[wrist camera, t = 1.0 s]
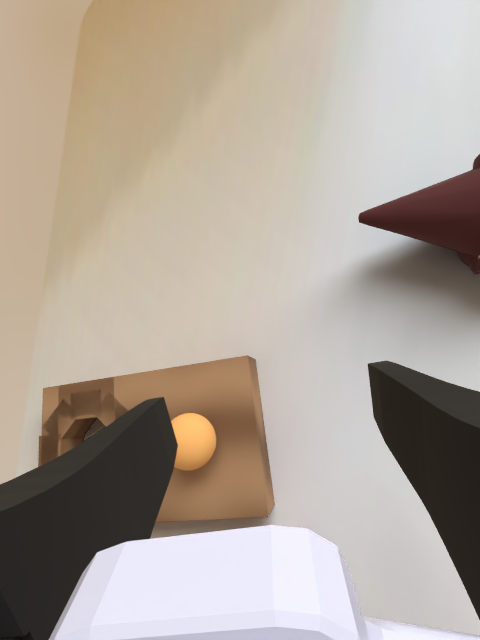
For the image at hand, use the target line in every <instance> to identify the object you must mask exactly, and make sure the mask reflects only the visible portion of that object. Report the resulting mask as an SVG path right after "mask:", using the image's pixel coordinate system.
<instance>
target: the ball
mask: <svg viewBox="0 0 480 640" xmlns="http://www.w3.org/2000/svg"><path fill="white" fill-rule="evenodd" d="M171 423H172V427H173V430H174V433H175V437H176V440H177V444H178V448H177V454H176V459H175V464H174V467H176V468H178V469H180V470H195V469H198V468H200V467H202V466H203V465H205V464H206V463H207V462H208V461H209V460H210V458H211V457H212V455H213V453H214V451H215V448H216V433H215V430H214V428H213V426H212V424H211V423H210V422H209V421H208V420H207V419H206V418H205V417H203V416H201V415H199V414H195V413H185V414H182V415H179V416H177V417H175V418H174V419H173V420H172V421H171Z"/></svg>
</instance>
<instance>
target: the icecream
mask: <svg viewBox="0 0 480 640" xmlns="http://www.w3.org/2000/svg"><path fill="white" fill-rule="evenodd" d="M359 222H360V223H363V224H366V225H369V226H373V227H376V228H380V229H384V230H387V231H391V232H394V233H398V234H401V235H405V236H408V237H411V238H415V239H418V240H422V241H425V242H428V243H432V244H435V245H439V246H442V247H445V248H449V249H452V250H456V251H458V255H459V257H460V259H461V260H462V261H463V262H464V263H465V264H467V265H468V266H469V267H470V268H471V270H472V271H473V272H474V273H475V274H479V273H480V154H479V155H478V156H477V157H476V159H475V160H474V163H473V169H472V170H471V171H468V172H466V173H463V174H461V175H458V176H455V177H453V178H450V179H448V180H445V181H442V182H440V183H437V184H435V185H432V186H429V187H427V188H424V189H422V190H419V191H416V192H414V193H411V194H409V195H406V196H403V197H401V198H398V199H396V200H393V201H390V202H388V203H385V204H382V205H380V206H377V207H374V208H372V209H369V210H367V211H364V212H362V213H360V214H359Z"/></svg>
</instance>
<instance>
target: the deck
mask: <svg viewBox="0 0 480 640" xmlns="http://www.w3.org/2000/svg"><path fill="white" fill-rule="evenodd" d="M159 397H164V399H165V402H166V406H167V409H168V413H169V416H170V420H171V421H172V420H173V419H174V418H175V417H177V416H179V415H182V414H185V413H195V414H199V415H201V416H203V417H205V418H206V419H207V420H208V421H209V422H210V423H211V424H212V426H213V428H214V430H215V433H216V448H215V451H214V453H213V455H212V457H211V458H210V460H209V461H208V462H207V463H206V464H205V465H203V466H202V467H200V468H198V469H195V470H180V469H178V468H176V467H174V469H173V473H172V476H171V479H170V482H169V485H168V488H167V490H166V493H165V496H164V499H163V502H162V505H161V507H160V510H159V513H158V516H157V519H156V522H168V521H190V520H212V519H234V518H256V517H268V515H269V514H270V512H271V510H272V508H273V506H274V505H275V504H274V497H273V489H272V481H271V474H270V466H269V459H268V451H267V444H266V436H265V428H264V421H263V413H262V406H261V398H260V391H259V383H258V375H257V368H256V360H255V359H254V358H251V357H249V356H242V357H235V358H229V359H223V360H217V361H210V362H204V363H198V364H192V365H185V366H179V367H173V368H167V369H160V370H154V371H148V372H142V373H135V374H129V375H123V376H117V377H110V378H104V379H98V380H92V381H85V382H79V383H73V384H67V385H60V386H54V387H48V388H43V407H42V436H39V463H38V467H40V466H42V465H44V464H46V463H48V462H50V461H51V460H53V459H55V458H57V457H59V456H60V455H62V454H64V453H66V452H68V451H69V450H71V449H73V448H74V447H76V446H78V445H79V444H81V443H82V442H84V435H85V433H86V432H87V431H88V429H89V428H90V427H91V425H92V424H93V422H94V421H95V420H96V418H98V419H99V420H100V421H101V422H102V423H103V424H104V425H105V426H106V427H107V426H108V425H109V424H111V423H112V422H114V421H115V420H116V419H118V418H119V417H121V416H122V415H124V414H125V413H126V412H128V411H129V410H131V409H132V408H134V407H135V406H137V405H138V404H140V403H142V402H143V401H145V400H147V399H152V398H159Z"/></svg>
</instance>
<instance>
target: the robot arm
mask: <svg viewBox="0 0 480 640" xmlns="http://www.w3.org/2000/svg"><path fill="white" fill-rule="evenodd" d="M368 370H369V378H370V387H371V396H372V405H373V414H374V418H375V421H376V423H377V425H378V428H379V430H380V432H381V434H382V436H383V439H384V441H385V443H386V444H387V446H388V448H389V449H390V451H391V452H392V454H393V456H394V457H395V459H396V460H397V462H398V464H399V465H400V467H401V468H402V470H403V472H404V473H405V475H406V476H407V478H408V480H409V481H410V483H411V484H412V486H413V487H414V489H415V491H416V492H417V494H418V495H419V497H420V499H421V500H422V502H423V504H424V505H425V507H426V509H427V511H428V512H429V514H430V516H431V518H432V520H433V522H434V524H435V526H436V528H437V530H438V532H439V534H440V536H441V538H442V540H443V542H444V544H445V546H446V549H447V551H448V553H449V555H450V557H451V559H452V561H453V563H454V565H455V567H456V570H457V572H458V574H459V576H460V578H461V580H462V582H463V584H464V586H465V589H466V591H467V593H468V595H469V597H470V600H471V602H472V604H473V606H474V608H475V611H476V613H477V615H478V617H479V619H480V392H478V391H474V390H471V389H467V388H464V387H461V386H457V385H454V384H451V383H448V382H445V381H442V380H439V379H436V378H433V377H431V376H428V375H425V374H423V373H420V372H417V371H415V370H412V369H410V368H407V367H404V366H402V365H399V364H396V363H393V362H390V361H381V362H375V363H369V364H368ZM177 448H178V444H177V440H176V437H175V433H174V430H173V427H172V423H171V420H170V416H169V413H168V409H167V406H166V402H165V399H164V397H159V398H152V399H147V400H145V401H143V402H142V403H140V404H138V405H137V406H135V407H134V408H132V409H131V410H129V411H128V412H126V413H125V414H124V415H122V416H121V417H119V418H118V419H116V420H115V421H114V422H112V423H111V424H109V425H108V426H107V427H105V428H104V429H102V430H101V431H99V432H98V433H96V434H94V435H93V436H91V437H90V438H88V439H87V440H85V441H84V442H82V443H81V444H79V445H78V446H76V447H74V448H73V449H71V450H69V451H68V452H66V453H64V454H62V455H60V456H59V457H57V458H55V459H53V460H51V461H50V462H48V463H46V464H44V465H42V466H40V467H38V468H35V469H33V470H31V471H29V472H27V473H25V474H23V475H21V476H19V477H17V478H15V479H12V480H10V481H8V482H5V483H3V484H1V485H0V640H480V636H478V635H472V634H466V633H460V632H454V631H448V630H442V629H436V628H430V627H424V626H419V625H413V624H407V623H401V622H395V621H389V620H383V619H377V618H371V617H365V616H362V614H361V610H360V606H359V602H358V598H357V595H356V591H355V587H354V583H353V579H352V576H351V572H350V570H349V568H348V566H347V564H346V562H345V560H344V558H343V557H342V555H341V553H340V551H339V549H338V547H337V546H336V545H334V544H333V543H331V542H329V541H328V540H326V539H324V538H323V537H321V536H319V535H317V534H316V533H314V532H312V531H311V530H309V529H307V528H301V527H291V526H280V525H265V526H256V527H248V528H239V529H230V530H222V531H213V532H204V533H196V534H187V535H178V536H170V537H161V538H152V539H150V537H151V533H152V530H153V527H154V524H155V522H156V519H157V516H158V513H159V510H160V507H161V505H162V502H163V499H164V496H165V493H166V490H167V488H168V485H169V482H170V479H171V476H172V473H173V469H174V464H175V459H176V454H177Z"/></svg>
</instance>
